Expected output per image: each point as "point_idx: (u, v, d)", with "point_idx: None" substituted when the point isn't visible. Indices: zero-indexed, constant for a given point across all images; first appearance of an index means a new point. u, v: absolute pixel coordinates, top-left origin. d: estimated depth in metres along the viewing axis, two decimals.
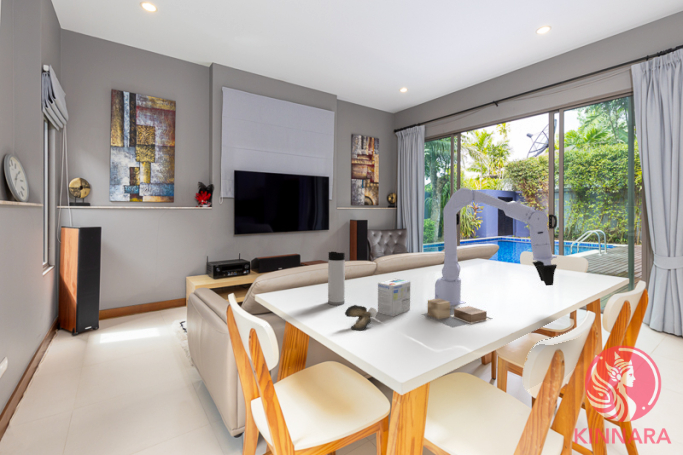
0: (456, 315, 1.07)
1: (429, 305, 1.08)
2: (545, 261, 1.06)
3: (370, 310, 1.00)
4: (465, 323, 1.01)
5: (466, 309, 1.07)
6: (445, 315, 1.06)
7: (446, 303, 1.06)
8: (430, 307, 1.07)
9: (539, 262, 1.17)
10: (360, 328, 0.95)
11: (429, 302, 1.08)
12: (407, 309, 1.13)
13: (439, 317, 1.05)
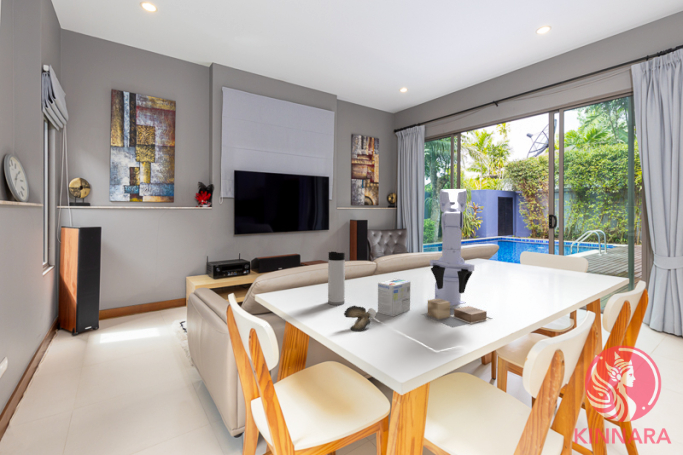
0: (456, 315, 1.07)
1: (429, 305, 1.08)
2: None
3: (369, 311, 1.00)
4: (465, 323, 1.01)
5: (466, 309, 1.07)
6: (445, 315, 1.06)
7: (446, 303, 1.06)
8: (430, 307, 1.07)
9: None
10: (359, 329, 0.95)
11: (429, 302, 1.08)
12: (407, 309, 1.13)
13: (439, 317, 1.05)
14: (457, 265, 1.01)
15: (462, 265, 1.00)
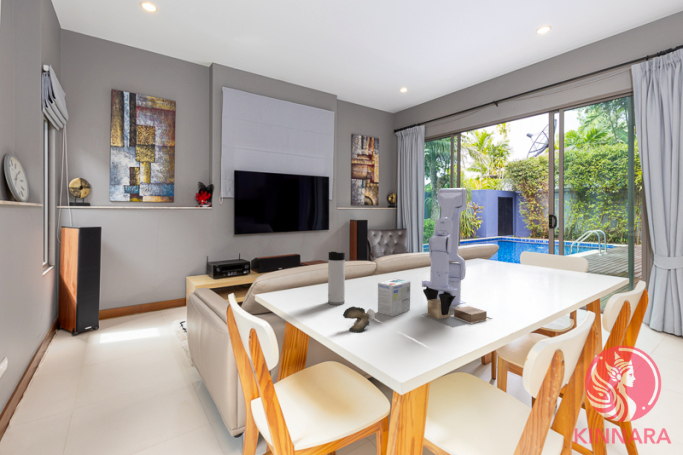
0: (456, 315, 1.07)
1: (429, 305, 1.08)
2: None
3: (368, 312, 0.99)
4: (465, 323, 1.01)
5: (466, 309, 1.07)
6: (445, 315, 1.06)
7: None
8: (430, 307, 1.07)
9: None
10: (358, 330, 0.94)
11: (429, 302, 1.08)
12: (407, 309, 1.13)
13: (439, 317, 1.05)
14: (441, 289, 1.03)
15: (446, 289, 1.02)
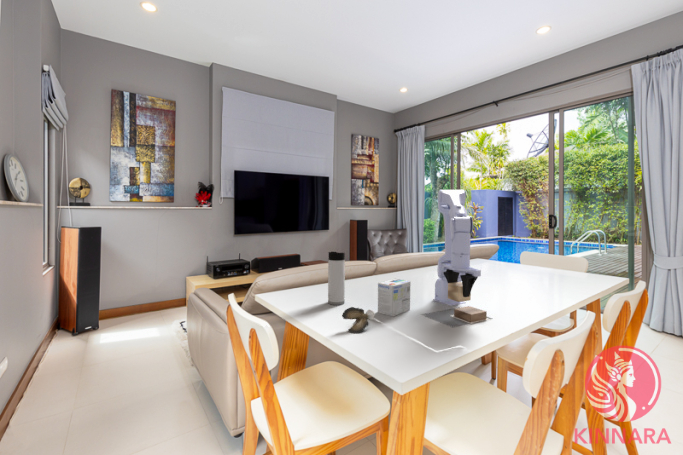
0: (456, 315, 1.07)
1: (449, 288, 1.06)
2: None
3: (368, 312, 0.98)
4: (465, 323, 1.01)
5: (466, 309, 1.07)
6: (466, 298, 1.04)
7: None
8: (450, 291, 1.06)
9: None
10: (358, 331, 0.93)
11: (449, 285, 1.06)
12: (407, 309, 1.13)
13: (460, 300, 1.03)
14: (463, 270, 1.02)
15: (468, 270, 1.01)
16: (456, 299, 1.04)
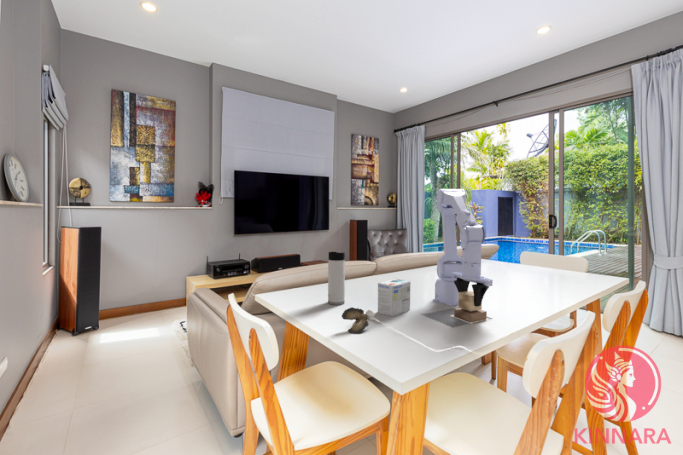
0: (456, 315, 1.07)
1: (460, 297, 1.06)
2: None
3: (367, 312, 0.98)
4: (465, 323, 1.01)
5: None
6: (477, 307, 1.04)
7: None
8: (461, 300, 1.06)
9: None
10: (357, 331, 0.93)
11: (460, 294, 1.06)
12: (407, 309, 1.13)
13: (471, 309, 1.03)
14: (475, 279, 1.02)
15: (480, 279, 1.01)
16: (467, 308, 1.03)
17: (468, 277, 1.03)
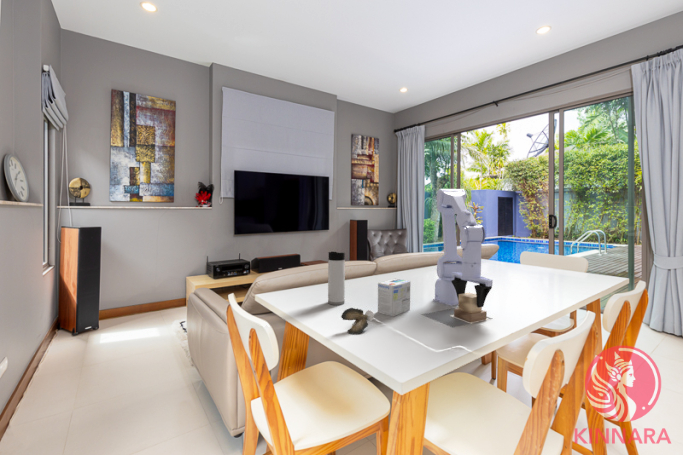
0: (456, 315, 1.07)
1: (460, 299, 1.06)
2: None
3: (367, 313, 0.98)
4: (465, 323, 1.01)
5: None
6: (477, 309, 1.04)
7: None
8: (461, 302, 1.06)
9: None
10: (357, 332, 0.92)
11: (460, 296, 1.06)
12: (407, 309, 1.13)
13: (471, 311, 1.03)
14: (475, 279, 1.02)
15: (479, 280, 1.01)
16: (467, 310, 1.03)
17: (468, 277, 1.03)
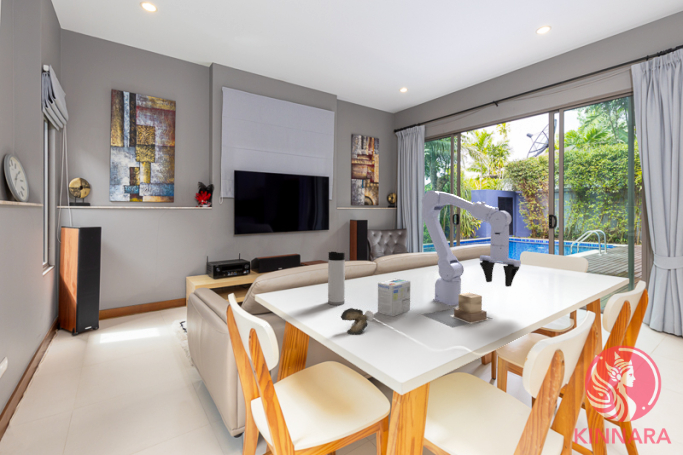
0: (456, 315, 1.07)
1: (460, 299, 1.06)
2: None
3: (366, 313, 0.97)
4: (465, 323, 1.01)
5: None
6: (477, 309, 1.04)
7: (478, 297, 1.04)
8: (461, 302, 1.06)
9: None
10: (356, 332, 0.92)
11: (460, 296, 1.06)
12: (407, 309, 1.13)
13: (471, 311, 1.03)
14: (503, 260, 1.09)
15: (508, 260, 1.08)
16: (467, 310, 1.03)
17: (497, 259, 1.11)
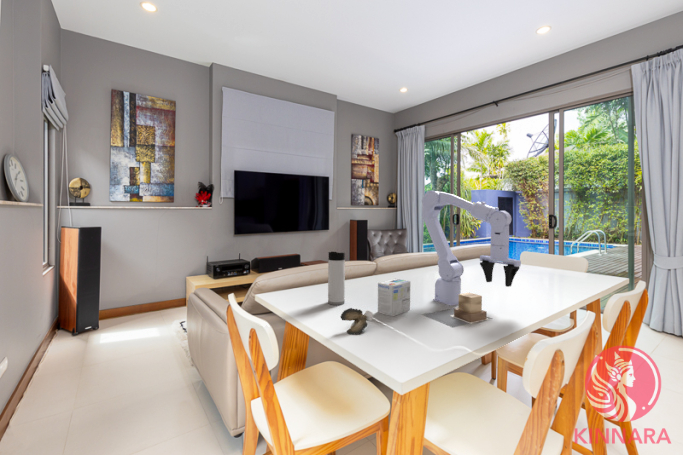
0: (456, 315, 1.07)
1: (460, 299, 1.06)
2: None
3: (366, 313, 0.97)
4: (465, 323, 1.01)
5: None
6: (477, 309, 1.04)
7: (478, 297, 1.04)
8: (461, 302, 1.06)
9: None
10: (356, 332, 0.92)
11: (460, 296, 1.06)
12: (407, 309, 1.13)
13: (471, 311, 1.03)
14: (503, 260, 1.09)
15: (508, 260, 1.08)
16: (467, 310, 1.03)
17: (497, 259, 1.11)
